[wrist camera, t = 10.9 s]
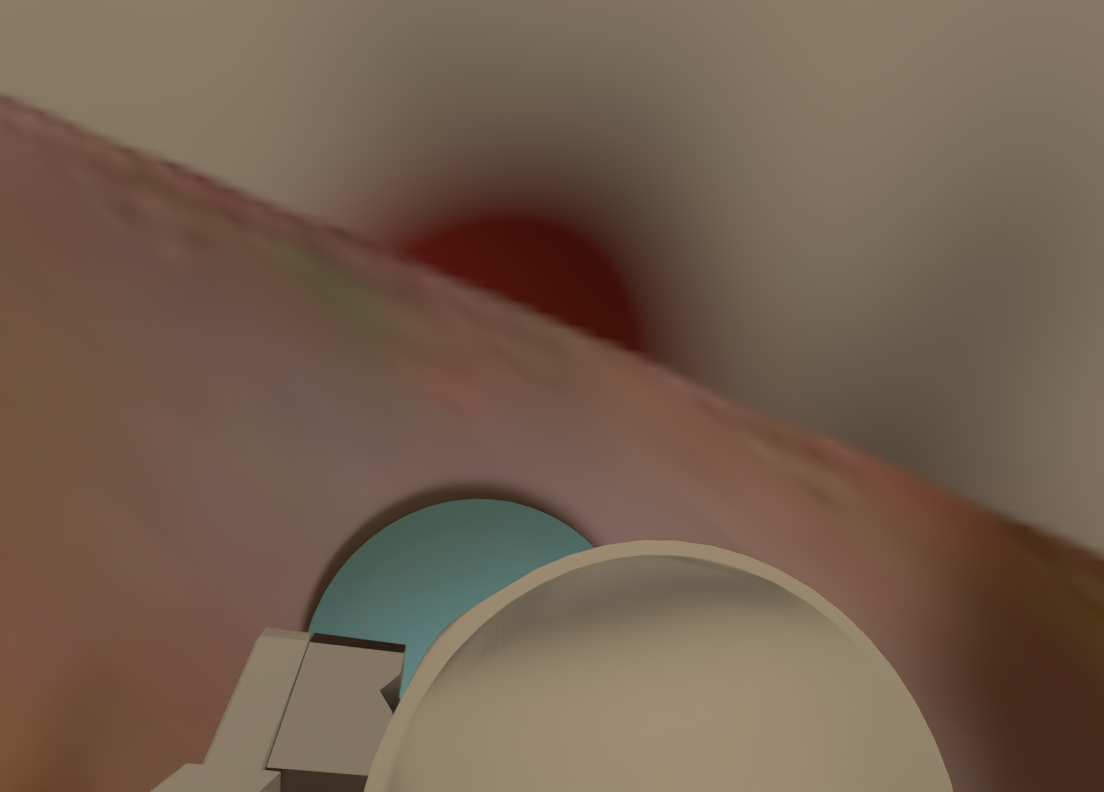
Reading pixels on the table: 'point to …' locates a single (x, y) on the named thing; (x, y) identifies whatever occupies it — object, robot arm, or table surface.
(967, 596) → the table surface
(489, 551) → the saucer
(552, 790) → the salt shaker
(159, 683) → the table surface
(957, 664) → the table surface
